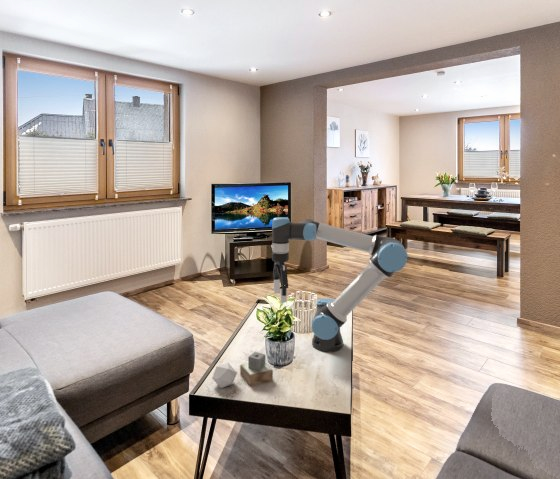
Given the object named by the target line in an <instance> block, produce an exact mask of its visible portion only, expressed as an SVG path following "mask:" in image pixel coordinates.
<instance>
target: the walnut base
mask: <svg viewBox="0 0 560 479" xmlns="http://www.w3.org/2000/svg"><path fill="white" fill-rule="evenodd" d="M239 368H240V370H239V371H240V372H239V373H240V374H239V375H240V377H241V378H242V379H243V380H244V381H245V382H246V384H247V385H248V386H249V387H254V386H257V385H261V384H265V383H270V382H272V381H273V380H274V379H273V376H274V370H273V369H272V368H271V367H270V366H269V365H268V364H267V363H266V362H265V367H263V368H262V369H261V370H260V371H257V370H253V369H250V368H248V362H247V363H241V364H240V365H239Z"/></svg>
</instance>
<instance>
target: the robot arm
mask: <svg viewBox="0 0 560 479" xmlns="http://www.w3.org/2000/svg"><path fill="white" fill-rule="evenodd" d="M271 225H272V227H271V231H272V232H271V234H272V235H271V236H272V237H271V239H272V240H271V242H272V243H271V245H270V247H271V250H272V252H271V260H272V261H273V262H274V264H273V270H272V271H273V272H272V277H273V294H275V295H276V294H280V295H279V296H280V299H279V301H280V302H279V303H281V304H282V303H288V288H289V281H288V280H289V279H288V270H287V269H288V266H287V265H285V262H288V261H289V257H290V253H289V251H290V240H295V241H296V240H297V241H298V240H299V241H308V242H309V241H315V240H316V239H318V240H321V241H324V242H329V243H332V244H336V245H340V246H343V247H346V248H347V247H348V248H351V249H355V250H358V251H362V252H366V253H368V254H369V255H370V257H369V259H368V264H367V266H366V267H365V268H364V269H363V270H362V271H361V272H360V273H359V274H358V275H356V277H355V278H354V279H353V280H352V282H350V283H349V285H348V286H347V287H345V289H344V290H343V291H342V292H341V293H339V295H338V296H337V297H336V298H319V299H317V300H316V304H315V305H316V311H315V313H314V315H313V318H312V320H311V331H312V332H313V336H312V340H311V345H312V347H313V348H314V349H316V350H318V351H322V352H326V353H327V352H337V351H341V350H342V349H343V348H342V347H344V340H343V336H342V333H341V327H343V325H344V324H346V322H347V320H348V319H347V316H348V315H349V314H350V313H351V312H352V311H353V310H354V309H356V307H357V306H358V305H359V304H360V303H361V302H362V301H363V300H365V299H366V297H367V296H368V295H369V294H370V293H371V292H372V291H373V290H374V289H375V288H376V287H377V286H378V285H379V284H380V283H381V282H382V281H383V280H384V279H390V278H391V277H392V276H393V275H394V274H395V273H398V272H400V271H401V270H402V269H404V267H405V266H406V264H407V263H408V262H407V261H408V252H407V250H406V248H405V247H404V244H403V243H402V241H400V240H398V239H396V238H393V237H387V236H383V235H378V234H375V235H368V234H365V233H361V232H357V231H353V230H349V229H345V228H342V227H337V226H333V225H330V224H326V223H323V222H318V221H315V220H313V219H311V218H305V219H303V220H302V221H300V222H291V221H290V218H288V217H282V216H281V217H279V216H278V217H274V218H273V219H272V224H271ZM341 348H342V349H341Z"/></svg>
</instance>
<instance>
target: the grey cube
mask: <svg viewBox="0 0 560 479" xmlns="http://www.w3.org/2000/svg"><path fill="white" fill-rule="evenodd" d="M247 360H248V362H247V363H248V368H250V369H253V370H257V371H260V370H261V369H262V368H263V367H265V363H266V354H265V353H262V352H258V351H254V352H252V353H251V354H250V355H249V356H248V359H247Z"/></svg>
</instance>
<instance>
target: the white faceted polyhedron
mask: <svg viewBox="0 0 560 479" xmlns="http://www.w3.org/2000/svg"><path fill="white" fill-rule="evenodd" d="M237 374H238V372H237V371H236V369H235V368H234V366H232V365H231V364H230V362H225V363H222V364H220V365H217V366H216V367H215V369H214V372H213V375H212V378H211V379H212V380H213V381H214V382H215V383H216V384H217V386H218V387H219V388H220V389H222V388H225V387H229V386H232V385H233V383H234V381H235V378H236V377H237Z"/></svg>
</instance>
